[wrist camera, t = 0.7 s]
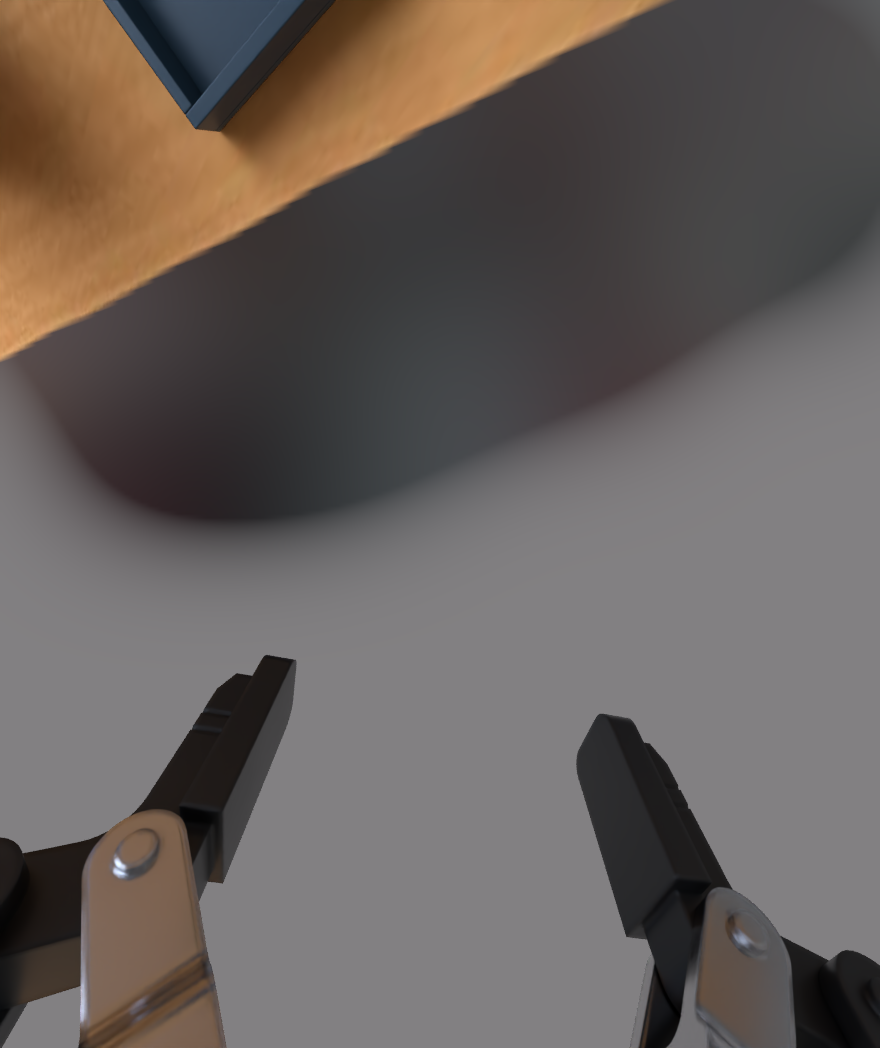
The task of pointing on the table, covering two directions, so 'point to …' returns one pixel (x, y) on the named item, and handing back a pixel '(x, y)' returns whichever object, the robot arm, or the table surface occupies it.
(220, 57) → the caddy
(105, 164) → the table surface
